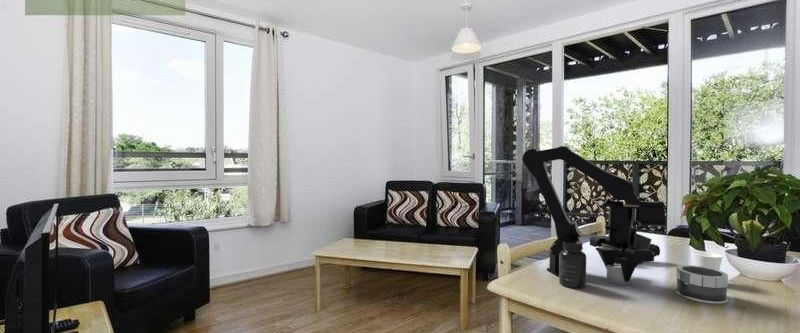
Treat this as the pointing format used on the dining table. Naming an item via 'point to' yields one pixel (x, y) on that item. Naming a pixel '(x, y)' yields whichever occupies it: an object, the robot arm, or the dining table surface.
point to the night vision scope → (652, 247)
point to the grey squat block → (616, 275)
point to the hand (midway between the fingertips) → (618, 277)
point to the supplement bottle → (572, 265)
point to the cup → (707, 259)
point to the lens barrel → (702, 284)
